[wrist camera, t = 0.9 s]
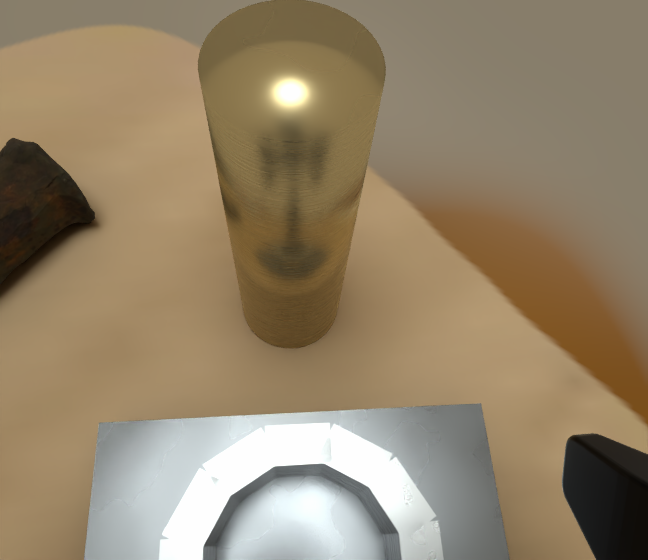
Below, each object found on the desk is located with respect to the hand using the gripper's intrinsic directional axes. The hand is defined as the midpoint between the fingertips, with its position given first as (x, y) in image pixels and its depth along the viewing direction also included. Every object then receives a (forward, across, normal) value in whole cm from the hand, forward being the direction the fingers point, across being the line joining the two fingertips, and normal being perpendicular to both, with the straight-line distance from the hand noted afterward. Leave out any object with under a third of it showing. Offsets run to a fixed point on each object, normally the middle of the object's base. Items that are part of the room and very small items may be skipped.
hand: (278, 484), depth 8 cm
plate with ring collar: (+9, 0, +10) cm, 13 cm away
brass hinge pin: (+15, -1, +2) cm, 15 cm away
